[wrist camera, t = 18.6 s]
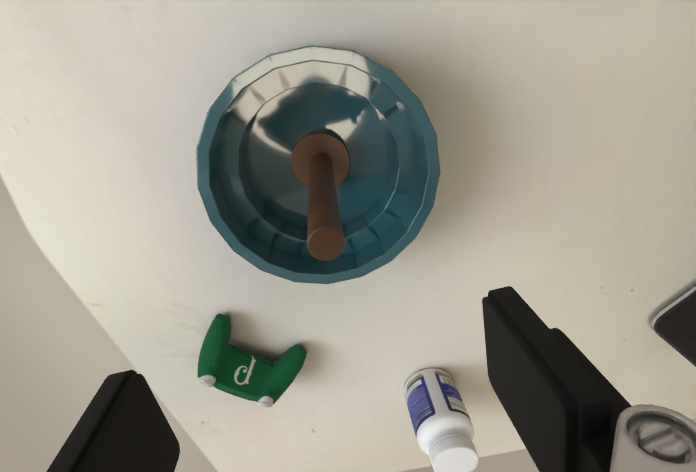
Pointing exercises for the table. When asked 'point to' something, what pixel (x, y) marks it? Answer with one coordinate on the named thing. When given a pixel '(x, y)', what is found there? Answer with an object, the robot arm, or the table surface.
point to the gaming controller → (245, 367)
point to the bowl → (275, 161)
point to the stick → (322, 189)
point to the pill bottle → (441, 421)
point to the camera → (679, 325)
